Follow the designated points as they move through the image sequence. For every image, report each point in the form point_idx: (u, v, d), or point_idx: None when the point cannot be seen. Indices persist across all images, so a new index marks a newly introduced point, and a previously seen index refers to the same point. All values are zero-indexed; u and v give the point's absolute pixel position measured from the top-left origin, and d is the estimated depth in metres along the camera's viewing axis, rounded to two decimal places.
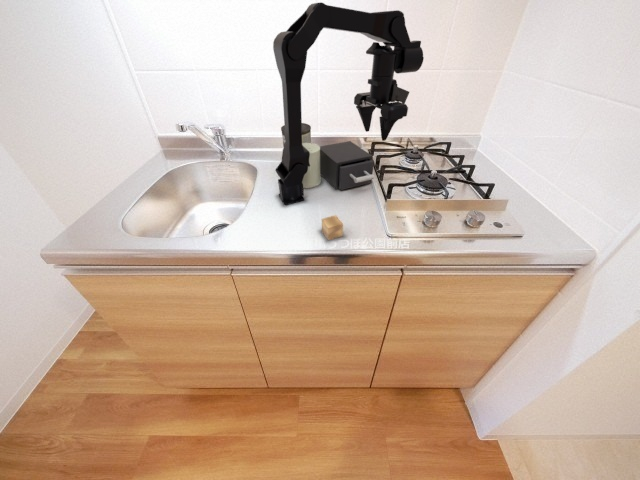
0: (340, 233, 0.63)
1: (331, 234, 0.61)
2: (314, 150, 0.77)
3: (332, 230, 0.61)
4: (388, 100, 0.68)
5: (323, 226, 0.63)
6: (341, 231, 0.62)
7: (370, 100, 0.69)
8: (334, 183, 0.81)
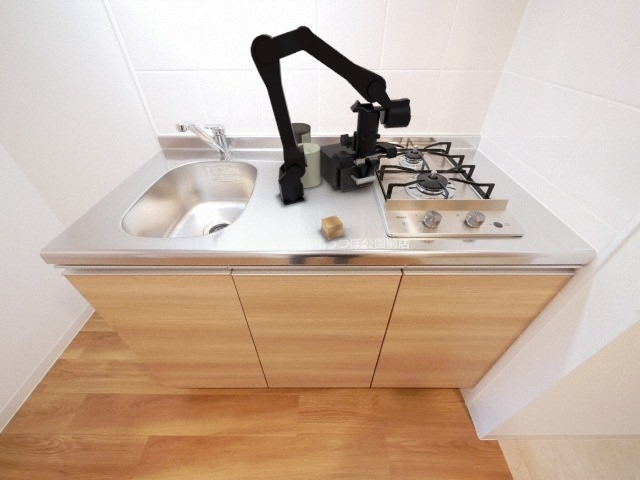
0: (340, 233, 0.63)
1: (331, 234, 0.61)
2: (314, 150, 0.77)
3: (332, 230, 0.61)
4: None
5: (323, 226, 0.63)
6: (341, 231, 0.62)
7: (370, 154, 0.68)
8: (334, 183, 0.81)
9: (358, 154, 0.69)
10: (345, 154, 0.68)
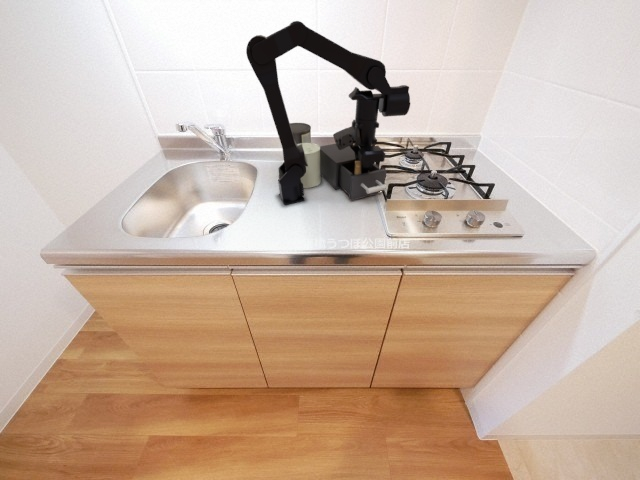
0: None
1: None
2: (314, 150, 0.77)
3: None
4: None
5: (359, 171, 0.73)
6: None
7: None
8: (334, 183, 0.81)
9: (369, 144, 0.68)
10: (373, 147, 0.64)
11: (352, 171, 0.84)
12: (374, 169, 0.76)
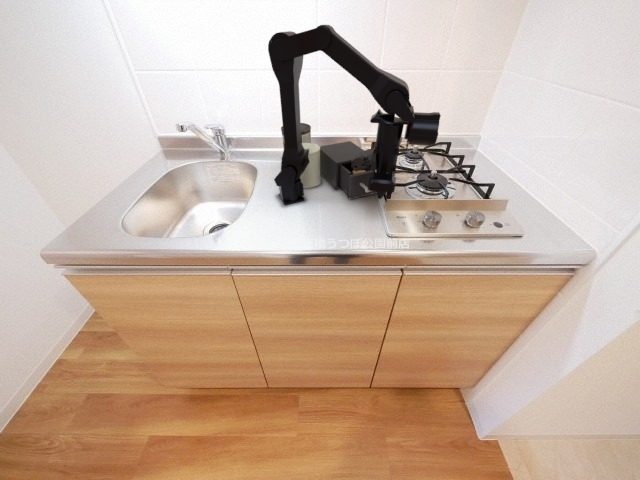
0: None
1: None
2: (314, 150, 0.77)
3: None
4: None
5: None
6: None
7: None
8: (334, 183, 0.81)
9: (387, 171, 0.62)
10: (384, 175, 0.59)
11: (351, 170, 0.84)
12: None
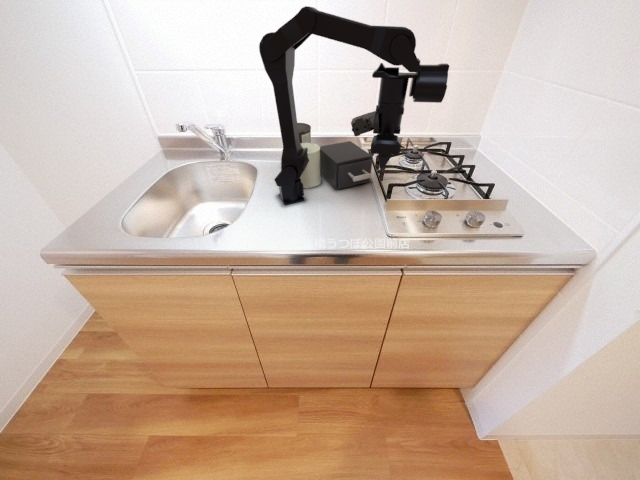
0: None
1: None
2: (314, 150, 0.77)
3: None
4: None
5: None
6: None
7: None
8: (334, 183, 0.81)
9: (390, 133, 0.57)
10: (389, 137, 0.54)
11: None
12: (361, 160, 0.82)
